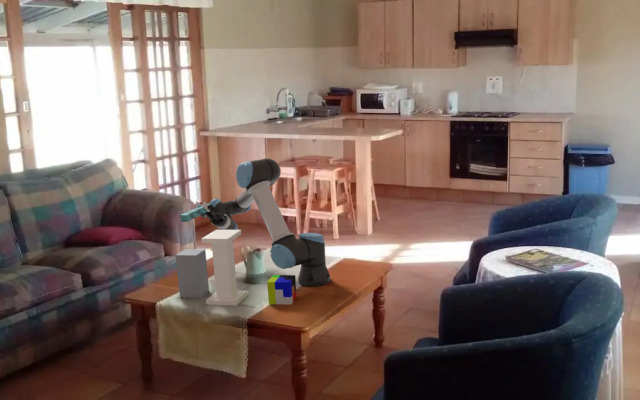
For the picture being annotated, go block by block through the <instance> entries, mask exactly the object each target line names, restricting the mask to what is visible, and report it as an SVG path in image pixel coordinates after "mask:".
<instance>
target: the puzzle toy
mask: <svg viewBox="0 0 640 400" xmlns="http://www.w3.org/2000/svg"><path fill="white" fill-rule="evenodd" d="M296 283H297V282H296V275H295V274H292V275H291V274H273V275H272V276H271V277H270V278H269V279H268V280H267V283H266V286H267V296H268V297H267V298H268V304H269V305H292V304H293V303H294V301H295V300H296V298H297V284H296Z"/></svg>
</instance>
